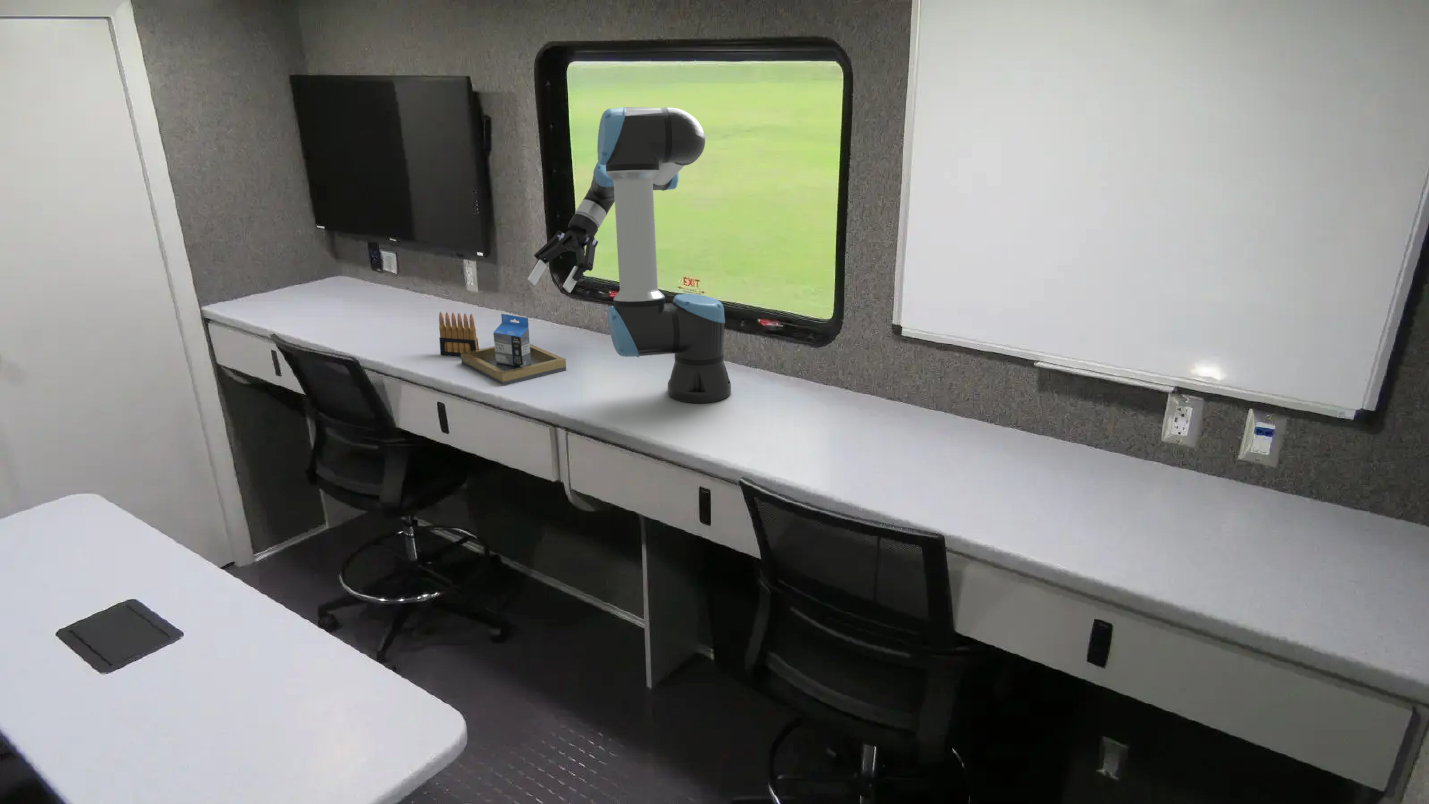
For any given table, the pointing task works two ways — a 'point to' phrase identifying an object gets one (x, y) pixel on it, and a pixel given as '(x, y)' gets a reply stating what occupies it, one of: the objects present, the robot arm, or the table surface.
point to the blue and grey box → (512, 341)
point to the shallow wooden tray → (509, 374)
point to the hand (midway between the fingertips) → (548, 286)
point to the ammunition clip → (457, 335)
